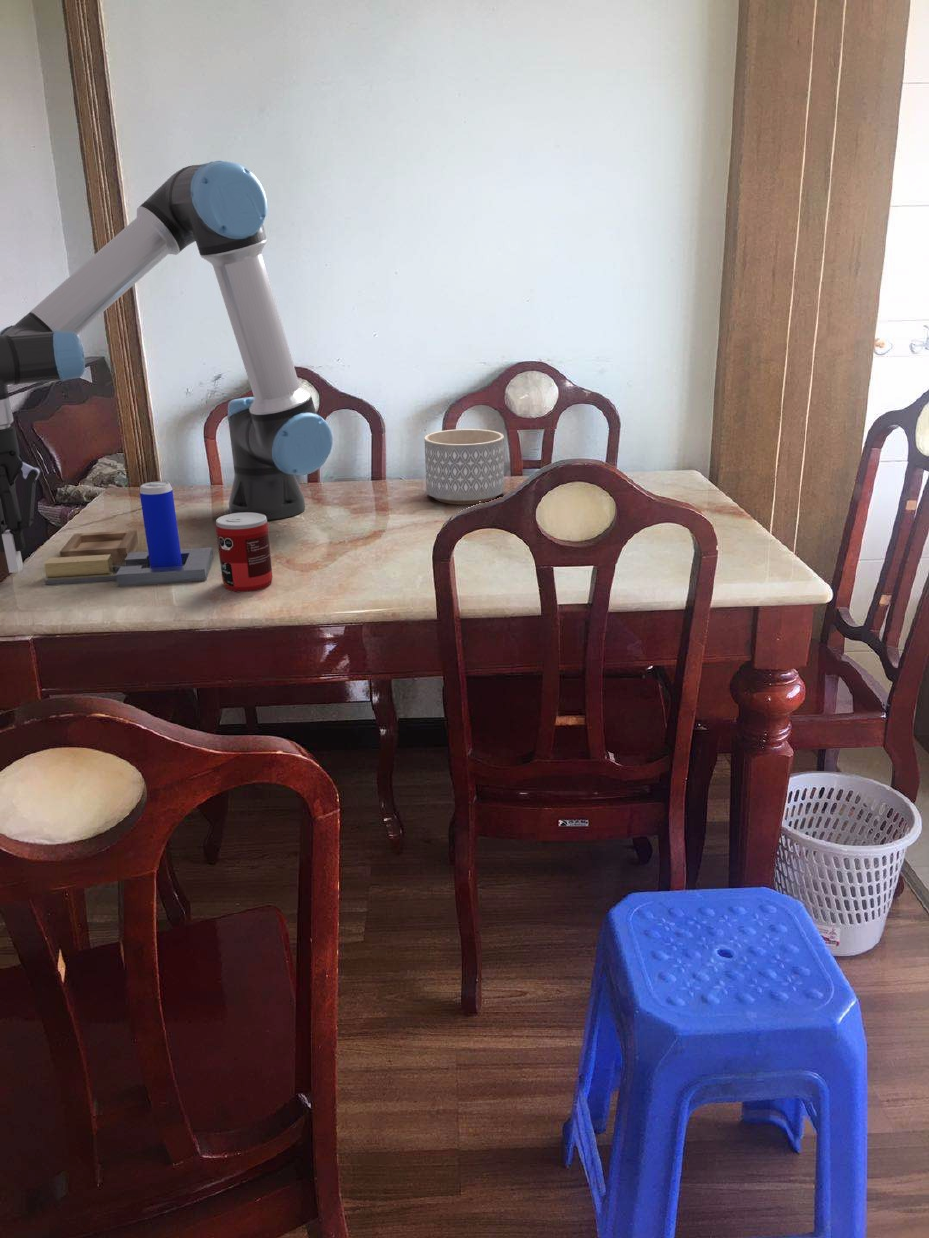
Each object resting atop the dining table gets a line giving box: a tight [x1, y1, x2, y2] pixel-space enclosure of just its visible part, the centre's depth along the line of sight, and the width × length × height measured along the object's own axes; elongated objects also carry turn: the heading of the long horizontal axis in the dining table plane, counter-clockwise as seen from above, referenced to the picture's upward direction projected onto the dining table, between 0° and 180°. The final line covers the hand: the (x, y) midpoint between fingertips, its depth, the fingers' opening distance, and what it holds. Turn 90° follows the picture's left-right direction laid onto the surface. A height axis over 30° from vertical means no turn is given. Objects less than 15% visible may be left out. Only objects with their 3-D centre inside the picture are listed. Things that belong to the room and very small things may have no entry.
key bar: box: [43, 554, 114, 578], centre depth 165 cm, size 10×3×3 cm, turn 98°
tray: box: [59, 529, 140, 565], centre depth 177 cm, size 11×11×3 cm
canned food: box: [215, 512, 273, 593], centre depth 159 cm, size 8×8×11 cm
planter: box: [423, 428, 505, 505], centre depth 208 cm, size 16×16×13 cm
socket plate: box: [44, 547, 214, 587], centre depth 167 cm, size 26×12×2 cm, turn 98°
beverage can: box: [139, 480, 183, 568], centre depth 165 cm, size 5×5×15 cm
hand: (16, 569), depth 164 cm, fingers closed
